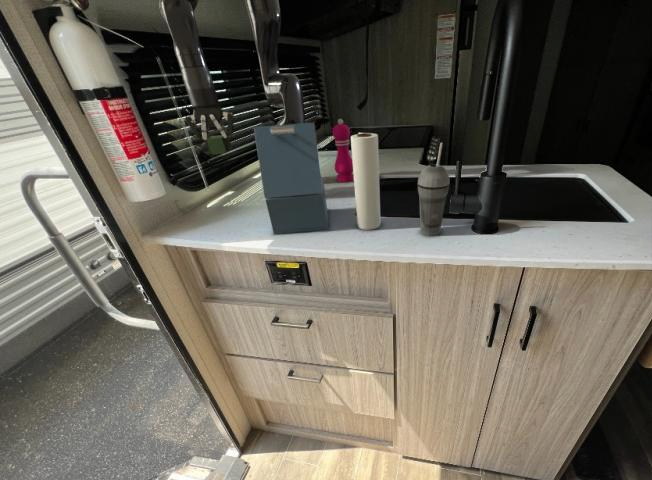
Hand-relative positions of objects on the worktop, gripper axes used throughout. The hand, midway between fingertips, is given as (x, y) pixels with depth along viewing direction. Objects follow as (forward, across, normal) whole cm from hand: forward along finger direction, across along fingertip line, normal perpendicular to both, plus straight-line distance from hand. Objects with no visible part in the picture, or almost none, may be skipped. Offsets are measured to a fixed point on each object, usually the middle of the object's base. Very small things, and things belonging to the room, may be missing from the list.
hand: (220, 151), depth 101 cm
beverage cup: (+15, -57, +43) cm, 73 cm away
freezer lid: (-2, -25, +32) cm, 41 cm away
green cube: (0, 0, 0) cm, 0 cm away
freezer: (+14, -25, +28) cm, 40 cm away
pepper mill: (+15, -39, -9) cm, 43 cm away
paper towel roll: (+15, -43, +35) cm, 57 cm away
